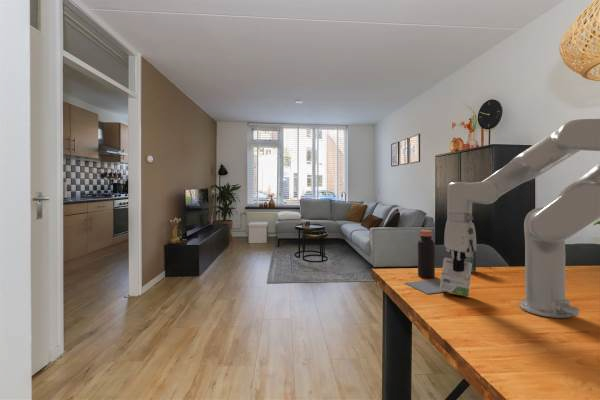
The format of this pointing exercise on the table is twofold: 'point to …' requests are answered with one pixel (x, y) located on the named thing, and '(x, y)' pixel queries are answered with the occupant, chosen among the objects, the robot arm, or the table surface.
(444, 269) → the ink box
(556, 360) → the table surface
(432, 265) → the bottle
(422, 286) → the mat
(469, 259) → the can
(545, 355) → the table surface
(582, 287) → the table surface
